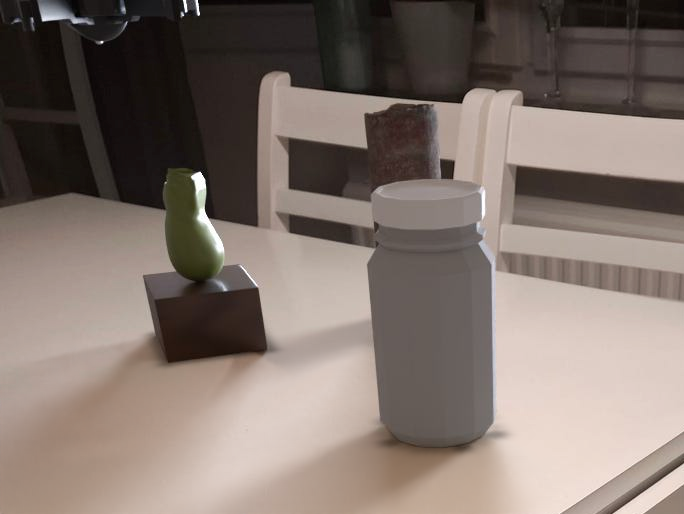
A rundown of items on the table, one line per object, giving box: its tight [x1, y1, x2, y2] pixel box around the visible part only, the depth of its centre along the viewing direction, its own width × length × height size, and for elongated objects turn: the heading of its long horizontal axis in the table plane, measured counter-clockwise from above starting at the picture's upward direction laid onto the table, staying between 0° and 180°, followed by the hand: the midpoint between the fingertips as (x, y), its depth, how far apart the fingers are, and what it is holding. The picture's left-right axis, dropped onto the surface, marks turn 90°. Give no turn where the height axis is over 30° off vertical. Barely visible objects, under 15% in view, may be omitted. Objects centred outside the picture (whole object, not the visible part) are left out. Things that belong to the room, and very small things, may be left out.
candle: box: [363, 102, 442, 249], centre depth 103 cm, size 8×7×20 cm
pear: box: [162, 167, 225, 282], centre depth 97 cm, size 6×5×10 cm
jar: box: [366, 178, 498, 448], centre depth 79 cm, size 10×10×18 cm
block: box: [142, 263, 268, 364], centre depth 102 cm, size 10×10×6 cm
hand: (107, 7), depth 101 cm, fingers open, 13 cm apart
